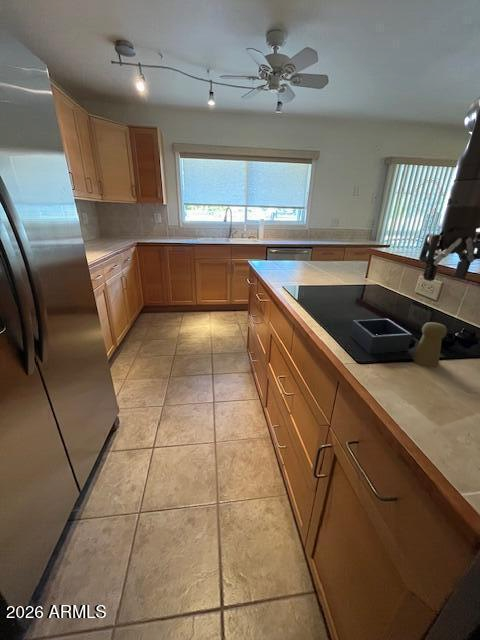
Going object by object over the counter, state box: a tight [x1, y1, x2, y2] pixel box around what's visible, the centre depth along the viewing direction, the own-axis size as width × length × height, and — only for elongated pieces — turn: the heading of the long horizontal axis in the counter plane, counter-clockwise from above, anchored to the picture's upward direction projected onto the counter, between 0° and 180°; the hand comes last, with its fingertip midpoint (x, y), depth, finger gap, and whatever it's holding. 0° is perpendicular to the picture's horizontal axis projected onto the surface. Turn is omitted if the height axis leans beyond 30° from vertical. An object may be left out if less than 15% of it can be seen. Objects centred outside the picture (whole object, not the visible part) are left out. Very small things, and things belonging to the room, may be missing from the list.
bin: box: [349, 317, 413, 355], centre depth 79 cm, size 12×12×6 cm
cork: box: [411, 321, 448, 368], centre depth 69 cm, size 6×6×11 cm
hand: (444, 278), depth 62 cm, fingers open, 8 cm apart
